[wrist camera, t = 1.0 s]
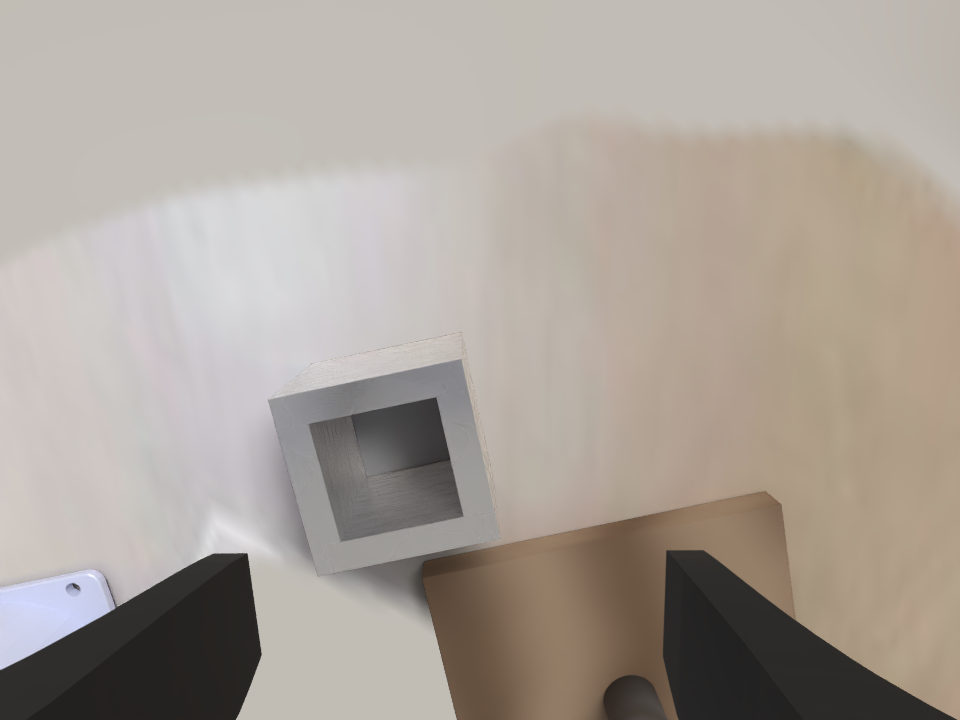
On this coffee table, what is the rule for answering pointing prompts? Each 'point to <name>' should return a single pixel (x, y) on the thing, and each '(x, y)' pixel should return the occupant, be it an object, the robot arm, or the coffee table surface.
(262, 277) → the coffee table surface
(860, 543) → the coffee table surface
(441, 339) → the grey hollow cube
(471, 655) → the brown peg base
